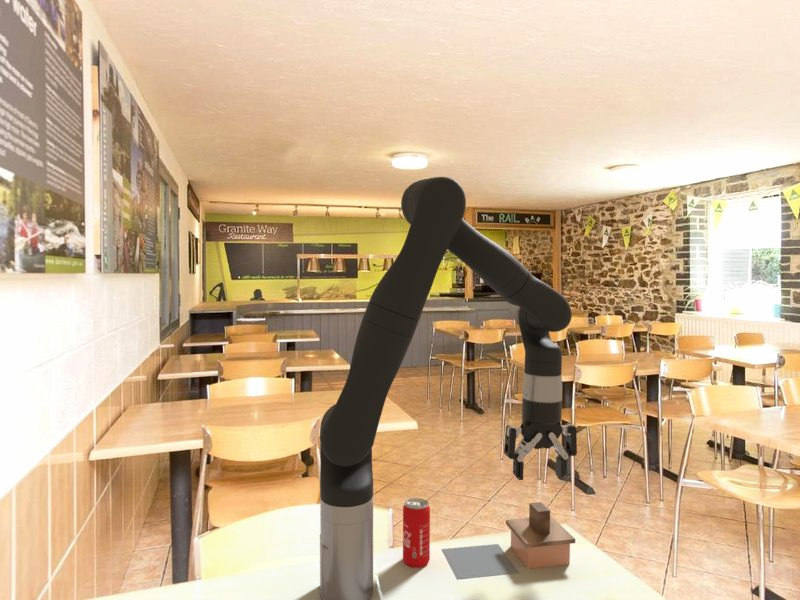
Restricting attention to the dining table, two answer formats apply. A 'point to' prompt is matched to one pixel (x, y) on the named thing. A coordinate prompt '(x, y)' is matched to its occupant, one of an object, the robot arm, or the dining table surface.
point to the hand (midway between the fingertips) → (539, 477)
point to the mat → (479, 561)
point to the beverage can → (416, 532)
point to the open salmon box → (541, 554)
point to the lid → (539, 528)
